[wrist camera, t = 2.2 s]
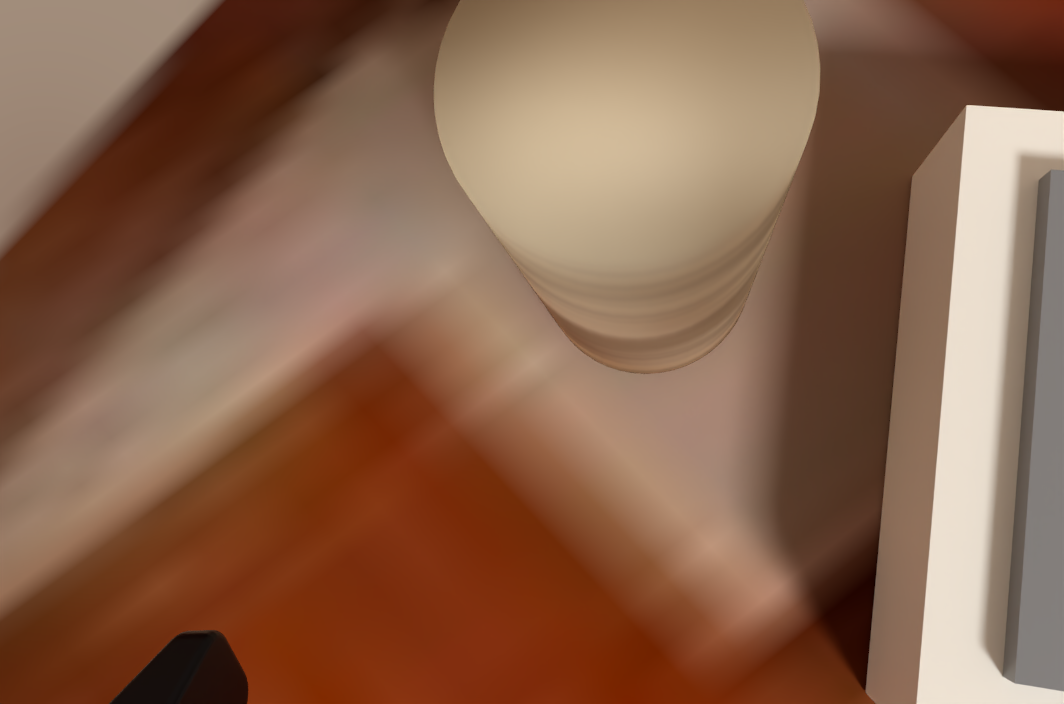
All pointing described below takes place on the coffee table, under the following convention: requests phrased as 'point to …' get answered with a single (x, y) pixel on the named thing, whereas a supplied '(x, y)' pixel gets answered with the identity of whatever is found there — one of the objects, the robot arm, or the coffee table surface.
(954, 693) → the socket block
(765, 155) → the beech pin
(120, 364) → the coffee table surface
